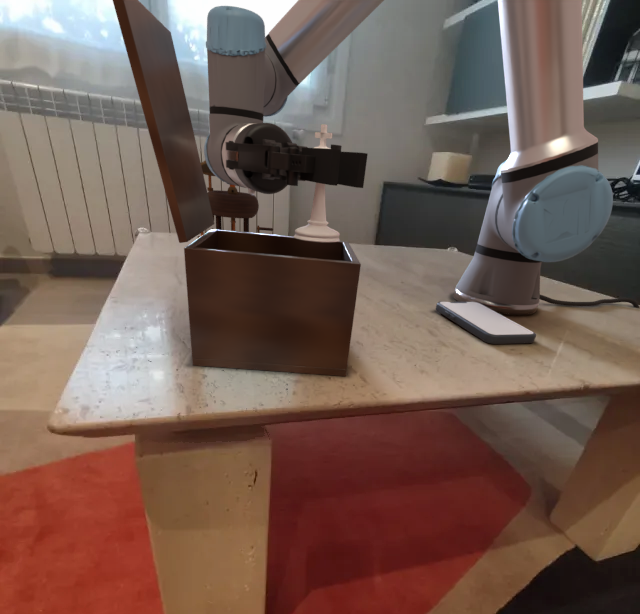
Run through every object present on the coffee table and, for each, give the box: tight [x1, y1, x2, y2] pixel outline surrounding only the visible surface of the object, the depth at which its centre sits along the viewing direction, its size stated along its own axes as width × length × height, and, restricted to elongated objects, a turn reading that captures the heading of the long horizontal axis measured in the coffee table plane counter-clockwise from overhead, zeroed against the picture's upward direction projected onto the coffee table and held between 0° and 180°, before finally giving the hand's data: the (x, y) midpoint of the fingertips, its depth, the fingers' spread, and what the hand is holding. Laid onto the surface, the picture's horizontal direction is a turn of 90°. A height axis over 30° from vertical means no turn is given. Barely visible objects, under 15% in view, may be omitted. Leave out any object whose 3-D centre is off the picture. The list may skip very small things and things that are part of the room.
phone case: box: [435, 301, 537, 345], centre depth 67 cm, size 9×2×16 cm
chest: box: [183, 228, 362, 377], centre depth 48 cm, size 17×14×12 cm
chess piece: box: [293, 123, 341, 243], centre depth 42 cm, size 5×5×10 cm
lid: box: [112, 0, 215, 244], centre depth 40 cm, size 17×14×1 cm
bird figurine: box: [196, 160, 274, 240], centre depth 77 cm, size 15×11×20 cm
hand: (348, 169), depth 38 cm, fingers closed on chess piece, 2 cm apart
